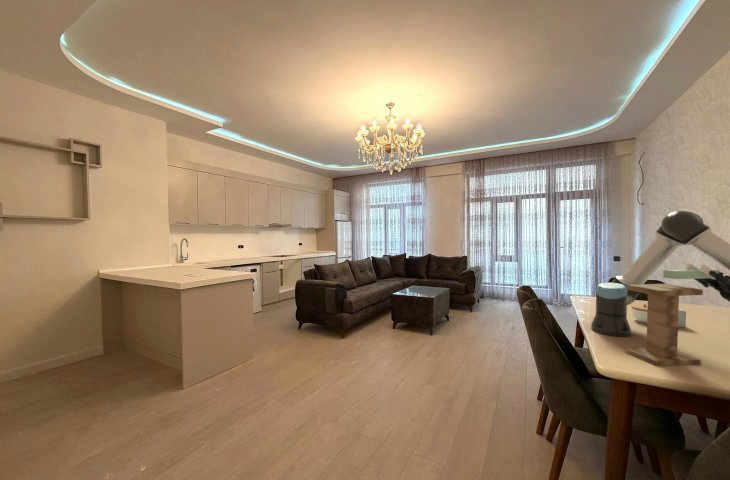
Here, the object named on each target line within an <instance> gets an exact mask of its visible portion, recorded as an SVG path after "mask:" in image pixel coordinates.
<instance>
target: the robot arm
mask: <svg viewBox="0 0 730 480" xmlns="http://www.w3.org/2000/svg"><path fill="white" fill-rule="evenodd" d="M655 235H656V236H655V238H654V239H653V240H652V241H651V243H649V245H648V246H647V247H646V249H644V250H643V251H642V252H641V254H640V255H639V256H638V257H637V258H636V260H635V261H634V262H633V263H632V264H630V266H629V267H628V268H627V269H626V271H625V272H624V273H623V274H622V275H617V276H615V278H614V279H613V280H612V281H611V282H601V283H598V284H597V285H596V289H595V295H596V296H595V315H594V317H593V319H592V322H591V325H590V326H591V327H590V329H591V330H593V331H594V332H597V333H600V334H603V335H608V336H612V337H613V336H614V337H620V338H621V337H623V338H624V337H626V338H627V337H630V336H632V330H631V326H630V323H629V321H628V318H627V315H628V314H627V311H628V306H629V305H631V304H632V303H634V302H635V301H636V298H637V297H638V296H640V294H641V292H636V291H631V290H627V285H639V284H645V283H646V282H647V281H648V280H649V278H651V277H652V276H653V274H655V272H656V271H657V270H658V269H659V268H660V267H661V266H662V265H663V264H664V263H665V261H667V259H669V257H670V256H671V255H672V254H673V253H674V252H675V251H676V250H677V249H678V248H679V247H684V246H692V247H694V248H696V249H697V250H698V251H700V252H701V253H703V254H704V255H705V256H708V258H710V259H711V260H713V261H715V262H716V263H717V264H719V265H721V266H723V268H725V269H727V270H728V271H730V243H729V242H728V241H726V240H724V239H723V238H721V237H720V236H718V235H717V234H715V233H714V232H713V231H712V228H711V227H710V226H708V225H706V224H705V223H704V220H703V218H702V217H701V216H700V215H699V214H697V213H695V212H692V211H686V210H676V211H673V212H670V213H668V214H666V215H665V216H664V217H663V218H662V220H661V225H660V226H659V227H658V229H657V230H656V231H655ZM693 269H700V270H699V271H700V272H702V273H703V274H705V275H706V276H708V277H709V278H707V279H694V280H695V281H696V282H697V283H700V285H702V286H703V287H704V288H713V289H714V290H716V291H718V292H719V294H720V297H721V298H723V299H724V300H726V301H727V302H729V303H730V275H724V272H721V271H719V273H716V272H715V271H713V270H714V269H712V268H710V267H709V266H707V265H705V264H701V266H700V268H698V267H696V266H695V265H693V264H691V263H687V264H686V266H685V268H684V270H693Z"/></svg>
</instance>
